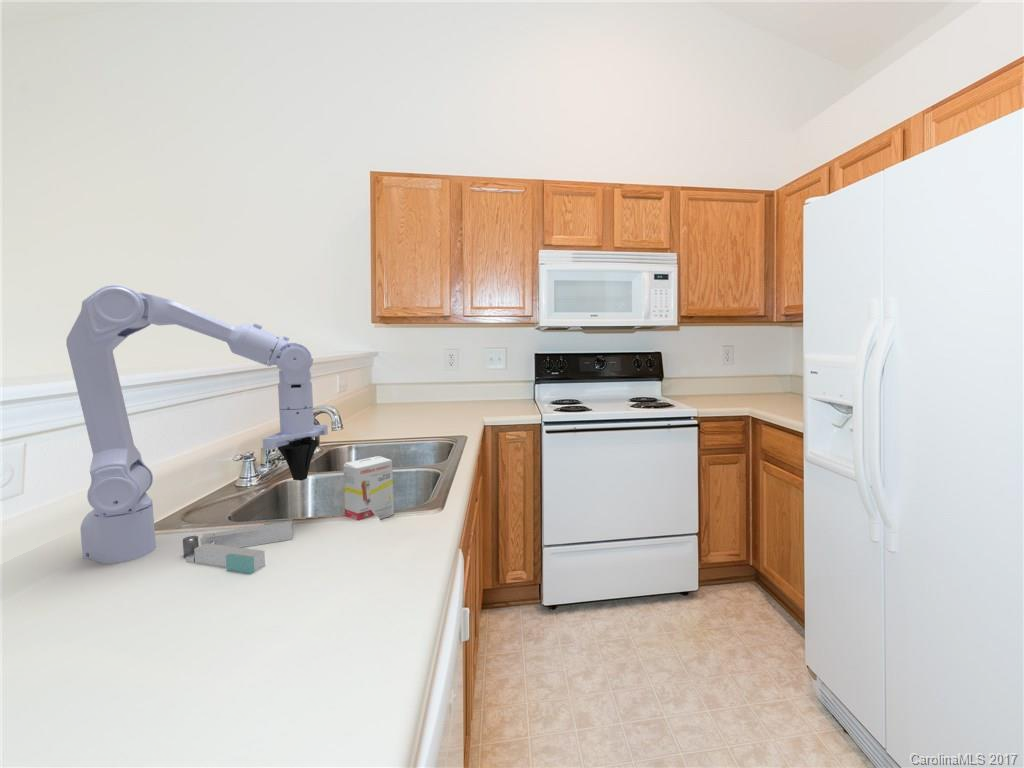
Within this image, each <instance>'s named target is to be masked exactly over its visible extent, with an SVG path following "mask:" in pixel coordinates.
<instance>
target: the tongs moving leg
mask: <svg viewBox="0 0 1024 768" xmlns="http://www.w3.org/2000/svg"><path fill="white" fill-rule="evenodd" d="M293 531H294V530H293V520H292V519H291V520H283V521H282V520H281V521H276V522H269V523H264V524H263V525H256V526H249V527H244V528H235V529H229V530H222V531H221V530H220V531H216V532H209V533H203V534H202V535H201V537H200V546H201V545H203V544H206V543H208V544H216V545H224V546H231V547H239V548H246V547H253V546H259V545H265V544H271V543H278V542H285V541H291V540H293V534H294V532H293Z"/></svg>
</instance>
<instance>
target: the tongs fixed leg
mask: <svg viewBox="0 0 1024 768" xmlns="http://www.w3.org/2000/svg"><path fill="white" fill-rule="evenodd" d="M182 548H183V551H182V552H183V558H184V559H185V563H189V564H199V565H204V566H210V567H217V568H224V569H226V572H233V573H237V574H238V573H240V574H245V575H252V574H254V573H255V572H257V571H259V570H261V569H262V568H264V567H266V555H265V554H266V553H265V550H260V549H254V548H246V547H240V548H239V547H231V546H224V545H216V544H214V543H212V544H208V543H206V544H203V545H201V544H200V545H199V536H198V535H190V536H187V537H184V538H182Z"/></svg>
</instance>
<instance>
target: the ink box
mask: <svg viewBox="0 0 1024 768" xmlns="http://www.w3.org/2000/svg"><path fill="white" fill-rule="evenodd" d="M393 477H394V475H393V460H392V459H391V458H386V457H384V456H381V455H379V456H378V455H376V456H373V457H372V456H370V457H366V458H362V459H358V460H357V459H356V460H353V461H348V462H347V461H346V462H345V464H343V494H344V495H343V497H344V499H343V500H344V501H343V502H344V517H346V518H350V519H352V520H355V521H361V520H365V519H367V518H370V517H373V516H378V518H379V520H382V519H383V520H384V519H386V518H388V516H389V517H391V515H392V516H394V515H395V506H394V504H395V503H394V478H393ZM393 514H394V515H393ZM385 517H386V518H385Z"/></svg>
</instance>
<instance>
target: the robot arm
mask: <svg viewBox="0 0 1024 768" xmlns="http://www.w3.org/2000/svg"><path fill="white" fill-rule="evenodd" d="M81 303H82V304H81V308H80V312H79V314H78V316H77V318H76V319H75V320H74V321H75V322H74V323H73V325H72V327H71V330H69V333H68V335H67V337H66V344H65V345H66V348H67V353H68V357H69V361H70V366H71V368H72V374H73V377H74V381H75V386H76V389H77V394H78V397H79V401H80V406H81V410H82V414H83V418H84V422H85V427H86V431H87V435H88V439H89V444H90V448H91V452H92V458H91V462H90V463H91V464H90V468H89V474H90V479H91V482H90V485H89V488H88V491H87V494H86V495H87V496H86V498H87V502H88V504H89V506H91V508H92V510H91V511H90V512H88V513H87V514H86V515H85V516H84V517H83V519H82V521H81V524H80V539H81V540H80V542H81V551H82V553H81V554H82V558H83V559H85V560H86V559H87V560H91V561H96V562H98V563H99V564H103V565H113V564H120V563H125V562H130V561H133V560H136V559H140V558H142V557H145V556H147V555H149V554H151V553H153V552H154V551H155V550H156V548H157V544H156V543H157V541H156V532H155V531H156V530H155V529H156V528H155V519H154V518H155V514H154V504H153V499H152V498H151V497H150V496H149V495H148V494H147V491H149V489H150V488H151V487H152V484H153V481H154V476H153V472H152V470H151V469H150V468H149V467H148V466H147V465H146V464H145V462H144V461H143V459H142V454H141V453H140V451H139V449H138V448H137V447H136V445H135V443H134V439H133V435H132V430H131V426H130V425H131V424H130V421H129V417H128V416H129V415H128V411H127V408H126V403H125V400H124V394H123V390H122V386H121V382H120V377H119V373H118V369H117V364H116V361H115V359H116V358H115V356H114V350H115V349H116V348H117V347H118V346H119V345H120V344H121V343H123V342H124V341H125V340H126V339H127V338H128V337H129V336H131V335H133V334H135V333H137V332H139V331H142V330H144V329H146V328H148V327H149V326H150V325H156V326H170V325H171V326H172V325H173V326H174V325H177V326H179V327H181V328H182V327H183V328H184V329H187V330H191V331H194V332H197V333H199V334H202V335H205V336H208V337H211V338H213V339H216V340H219V341H222V342H226V343H227V345H228V347H229V349H230V351H231V353H232V354H234V355H236V356H240V357H243V358H245V359H247V360H251V361H254V362H256V363H258V364H261V365H265V366H267V367H272V366H276V367H277V368H278V369H279V370H278V378H279V379H278V380H279V382H278V383H277V390H278V392H277V393H278V409H279V412H278V413H279V414H278V415H279V425H280V426H279V427H280V428H279V432H277V433H274V434H272V435H269V436H266V437H263V438H262V450H270V451H271V450H273V451H274V450H276V449H277V450H278V451H279V453H280V454H281V455H282V457H283V458H284V460H285V462H286V464H287V466H288V469H289V471H290V474H291V477H292V480H293V481H304V480H306V479H308V474H309V471H310V466H311V461H312V459H313V455H314V454H315V451H316V449H317V447H318V446H319V439H313V438H317V437H320V436H327V435H329V431H328V428H329V427H328V424H318V425H316V424H315V422H314V421H315V420H314V399H313V384H312V383H313V382H311V379H312V373H311V370H310V369H311V367H312V366H313V362H314V358H312V354H311V352H310V350H309V349H308V348H307V347H306V346H305V345H302V344H301V343H300V344H299V343H297V342H289V340H290V337H288V336H287V335H284V336H283V337H281V336H280V335H276V334H274V333H271V332H269V331H266V330H264V329H262V328H263V326H262V325H260V324H258V323H256V322H254V323H253V325H252V324H250V323H247V322H246V323H241V324H239V325H235V326H233V325H231V324H228V323H226V322H224V321H222V320H219V319H217V318H215V317H213V316H210V315H208V314H205V313H203V312H200V311H198V310H196V309H194V308H191V307H188V306H186V305H184V304H182V303H180V302H177V301H175V300H171V299H169V298H166V297H161V296H158V295H155V294H152V293H148V292H143V291H140V292H137V291H135V290H133V288H132V289H131V288H130V287H129V286H128V287H127V286H125V285H120V284H118V285H117V284H111V285H106V286H105V285H104V286H103V287H100V288H98V289H97V290H96V291H94V292H93V293H91V294H90V295H89V296H87V297H86V298H84V299H83V300H82V302H81Z"/></svg>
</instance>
